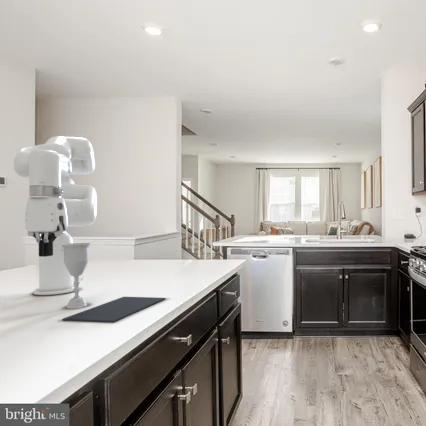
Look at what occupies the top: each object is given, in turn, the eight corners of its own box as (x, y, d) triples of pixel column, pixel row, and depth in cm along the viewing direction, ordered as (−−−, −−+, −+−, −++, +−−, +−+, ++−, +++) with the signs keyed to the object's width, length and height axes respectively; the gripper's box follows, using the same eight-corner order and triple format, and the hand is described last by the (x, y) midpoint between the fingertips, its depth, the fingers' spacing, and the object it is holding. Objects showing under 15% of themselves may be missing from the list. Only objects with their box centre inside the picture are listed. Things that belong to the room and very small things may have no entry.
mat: (123, 298, 117) (123, 296, 117) (165, 299, 116) (165, 297, 116) (62, 320, 94) (62, 318, 94) (113, 322, 92) (113, 320, 92)
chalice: (79, 309, 104) (79, 245, 103) (55, 309, 104) (55, 245, 104) (96, 303, 111) (95, 242, 111) (73, 303, 111) (73, 242, 111)
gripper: (78, 193, 111) (79, 254, 111) (34, 194, 113) (34, 254, 113) (58, 192, 104) (58, 257, 104) (10, 192, 105) (10, 257, 105)
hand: (45, 255), depth 108 cm, fingers closed
